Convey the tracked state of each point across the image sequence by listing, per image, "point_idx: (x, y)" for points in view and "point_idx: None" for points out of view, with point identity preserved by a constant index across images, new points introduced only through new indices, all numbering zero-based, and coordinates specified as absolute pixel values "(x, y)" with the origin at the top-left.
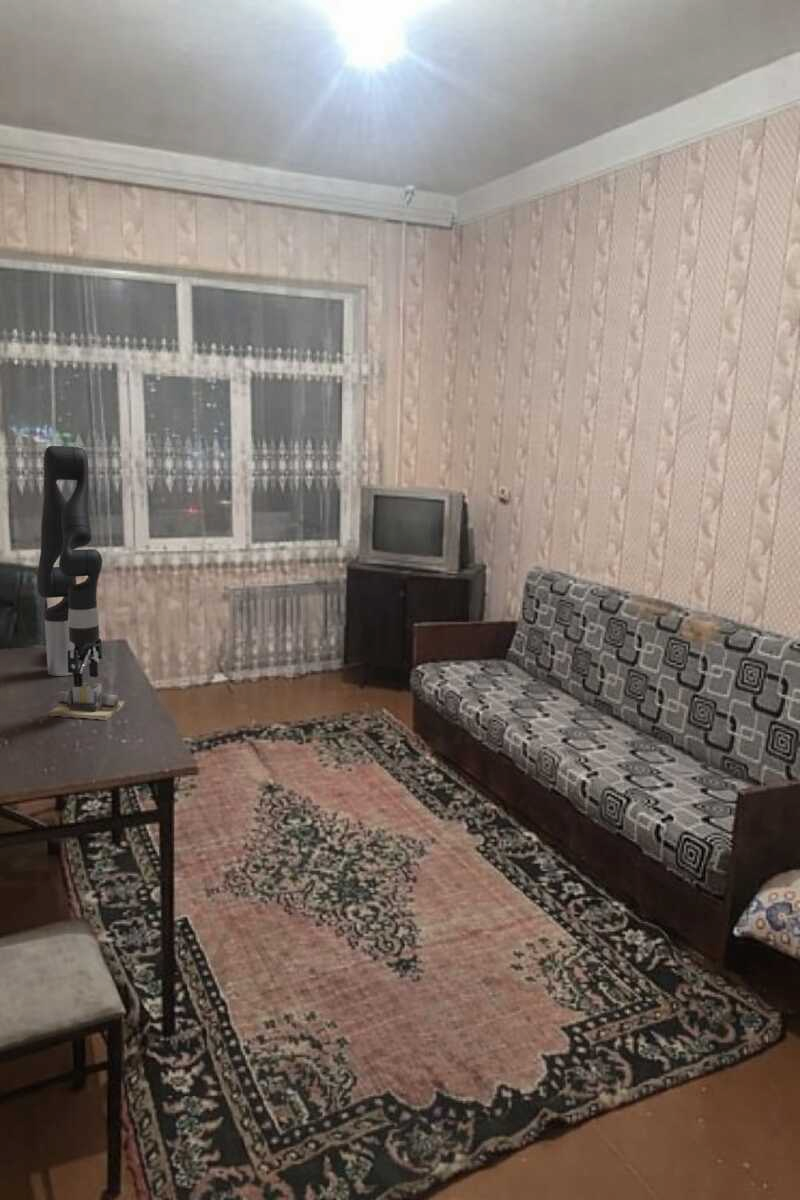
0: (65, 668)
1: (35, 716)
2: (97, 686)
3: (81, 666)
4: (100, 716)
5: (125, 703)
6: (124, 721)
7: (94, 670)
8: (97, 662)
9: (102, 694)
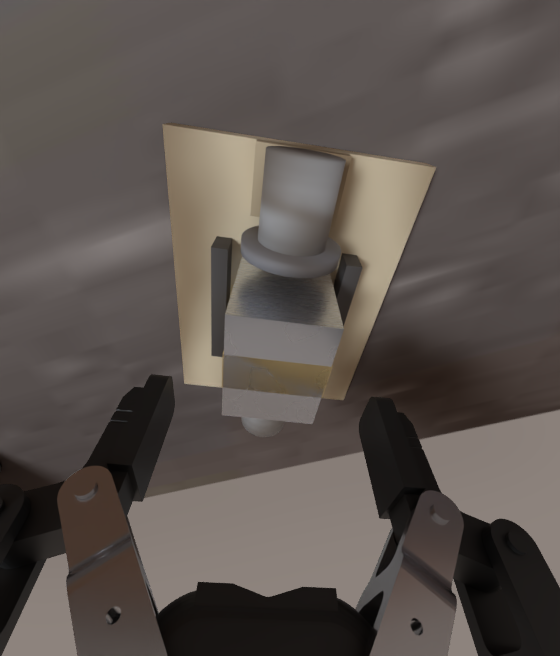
0: None
1: (340, 415)
2: (284, 321)
3: (452, 569)
4: (420, 202)
5: (176, 125)
6: (471, 17)
7: (156, 425)
8: (109, 479)
9: (312, 260)
